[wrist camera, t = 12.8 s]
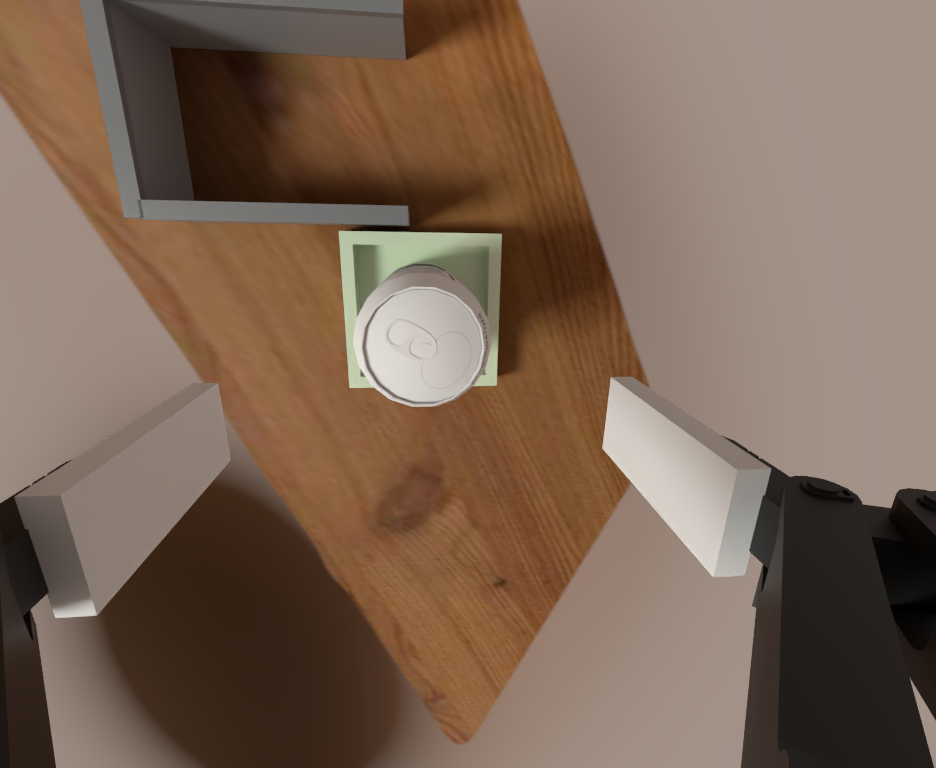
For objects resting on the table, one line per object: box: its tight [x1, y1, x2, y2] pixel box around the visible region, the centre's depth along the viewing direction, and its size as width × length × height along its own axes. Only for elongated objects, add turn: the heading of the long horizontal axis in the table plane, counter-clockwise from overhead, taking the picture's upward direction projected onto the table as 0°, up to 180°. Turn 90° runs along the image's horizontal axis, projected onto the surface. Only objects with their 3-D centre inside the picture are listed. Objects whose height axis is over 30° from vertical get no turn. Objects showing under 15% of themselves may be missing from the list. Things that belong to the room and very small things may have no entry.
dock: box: [80, 0, 410, 226], centre depth 31 cm, size 13×18×8 cm
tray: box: [339, 231, 502, 388], centre depth 39 cm, size 13×13×2 cm
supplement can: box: [353, 263, 491, 407], centre depth 32 cm, size 8×8×15 cm
